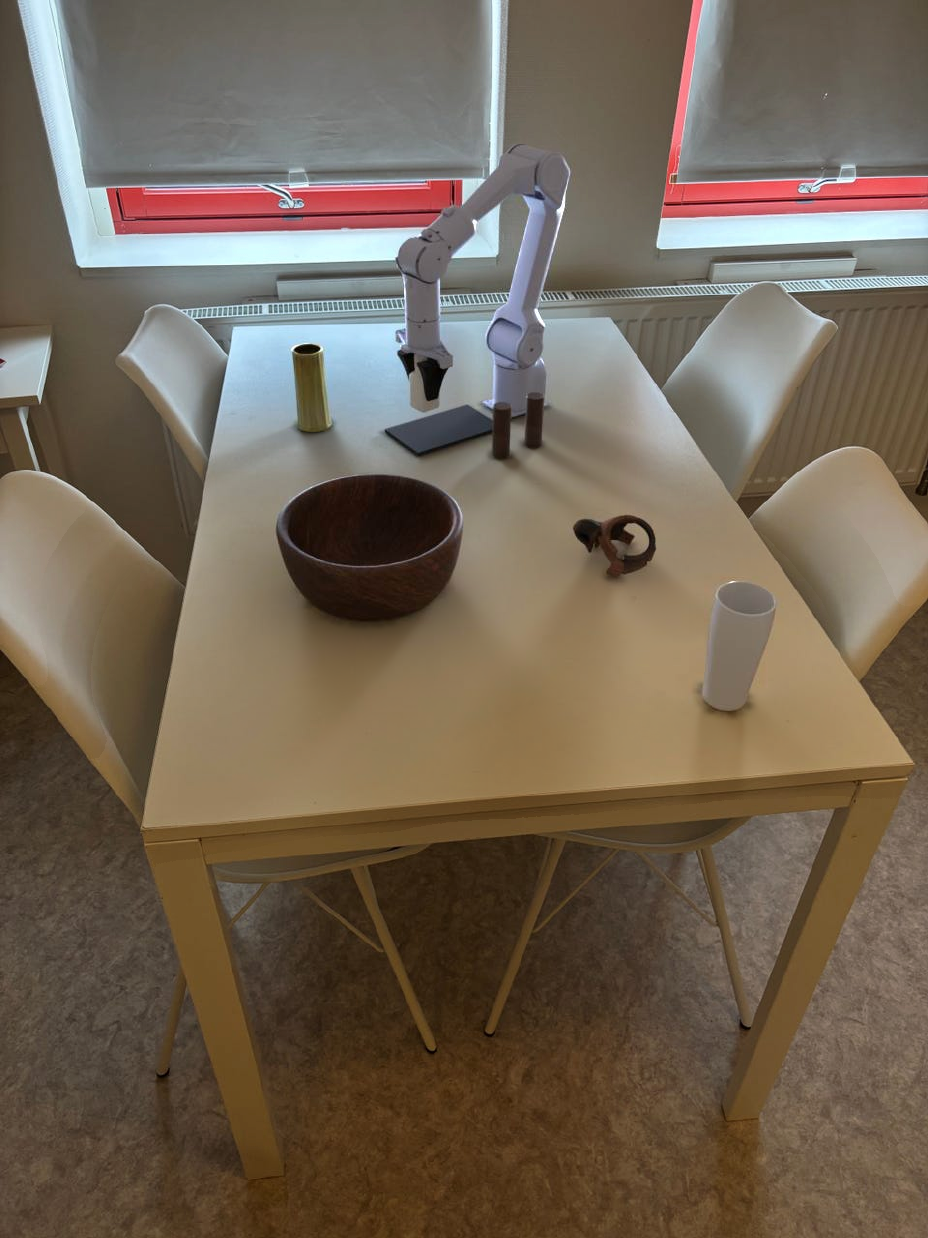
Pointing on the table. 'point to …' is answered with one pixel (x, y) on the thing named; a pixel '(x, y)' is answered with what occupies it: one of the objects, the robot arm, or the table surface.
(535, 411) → the walnut dowel
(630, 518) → the brown curled ring figurine
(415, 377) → the pepper shaker
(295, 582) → the wooden bowl
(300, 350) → the vase
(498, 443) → the walnut dowel
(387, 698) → the table surface
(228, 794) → the table surface
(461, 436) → the mat
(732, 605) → the drinking glass
